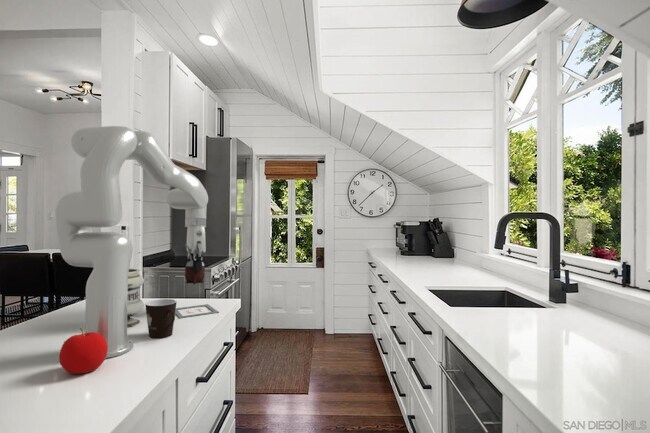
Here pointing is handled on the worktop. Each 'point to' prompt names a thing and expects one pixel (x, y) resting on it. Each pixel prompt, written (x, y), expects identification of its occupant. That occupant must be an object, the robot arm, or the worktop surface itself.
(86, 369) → the fruit
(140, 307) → the apothecary jar
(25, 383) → the worktop surface
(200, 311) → the gray square frame
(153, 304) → the coffee mug
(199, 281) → the mate gourd
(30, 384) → the worktop surface
